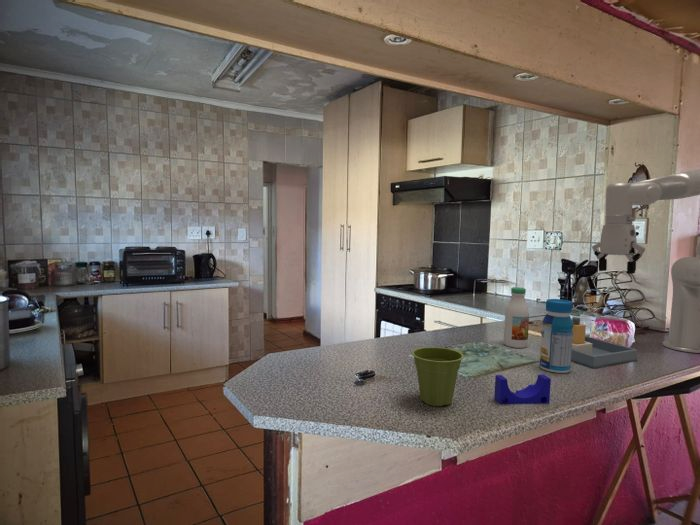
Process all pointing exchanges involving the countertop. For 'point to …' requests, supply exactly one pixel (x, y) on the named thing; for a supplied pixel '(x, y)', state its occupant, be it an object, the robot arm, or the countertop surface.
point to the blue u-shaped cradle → (523, 391)
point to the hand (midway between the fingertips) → (616, 272)
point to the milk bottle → (516, 320)
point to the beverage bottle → (557, 336)
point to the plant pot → (437, 373)
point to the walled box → (601, 353)
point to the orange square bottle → (578, 331)
